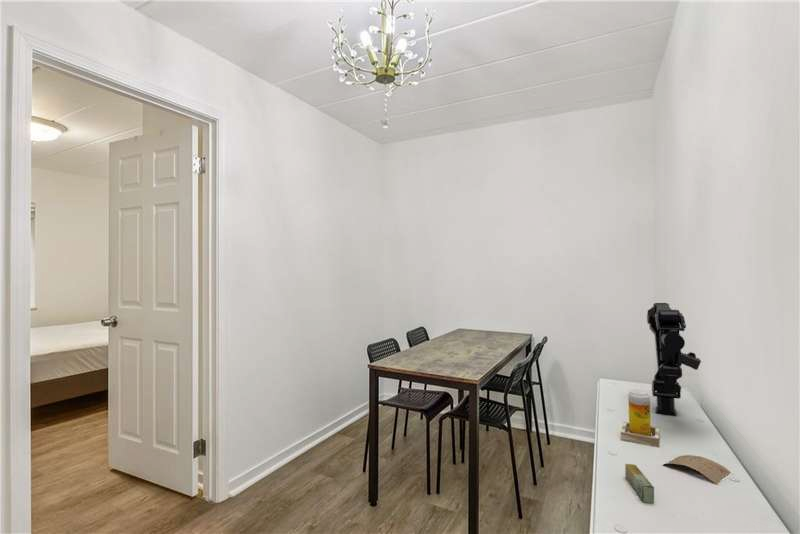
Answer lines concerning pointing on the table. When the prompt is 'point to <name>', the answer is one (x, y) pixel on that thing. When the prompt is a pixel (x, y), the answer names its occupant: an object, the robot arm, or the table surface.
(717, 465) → the curved brown cardboard
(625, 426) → the tray
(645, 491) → the medication box
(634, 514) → the table surface
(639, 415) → the beer can
